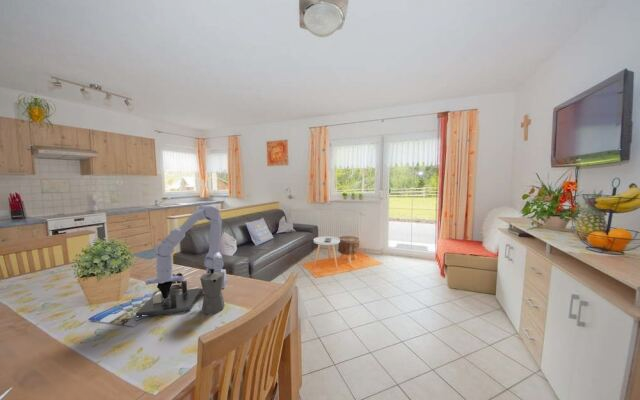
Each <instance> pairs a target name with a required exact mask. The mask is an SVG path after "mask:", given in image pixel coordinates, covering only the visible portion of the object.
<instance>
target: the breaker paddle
mask: <svg viewBox="0 0 640 400" xmlns="http://www.w3.org/2000/svg"><path fill="white" fill-rule="evenodd" d="M152 297H153V304H154V303H161V302H162V301H163V300H164V298H163V295H162V293H161V291H157V292H156V293H154V295H152Z"/></svg>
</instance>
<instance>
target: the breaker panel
mask: <svg viewBox="0 0 640 400" xmlns="http://www.w3.org/2000/svg"><path fill="white" fill-rule="evenodd" d="M202 293H203V289H202V287H198V288H187V292H182V289H178V290H170V291H169V295H168V298H167V299H164V300H163V301H162V302H161V303H154V304H153V296H152V297H150V298H149V299H148V300H147V301H146V302H145V303H144V304H143V305H142V307H140V308H139V310H138V311H137V312H136V313H135V317H136V316H142V315H148V316H147V317H152V316H153V317H154V316H155V317H156V316H162V315H170V314H179V313H188V312H189V313H190V312H191V310H192V308H193V307H194V305H195V304H196V302H197V300H198V299H199V297H200V295H201V294H202ZM172 294H176V306H175V307H171V297H170V295H172Z"/></svg>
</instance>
